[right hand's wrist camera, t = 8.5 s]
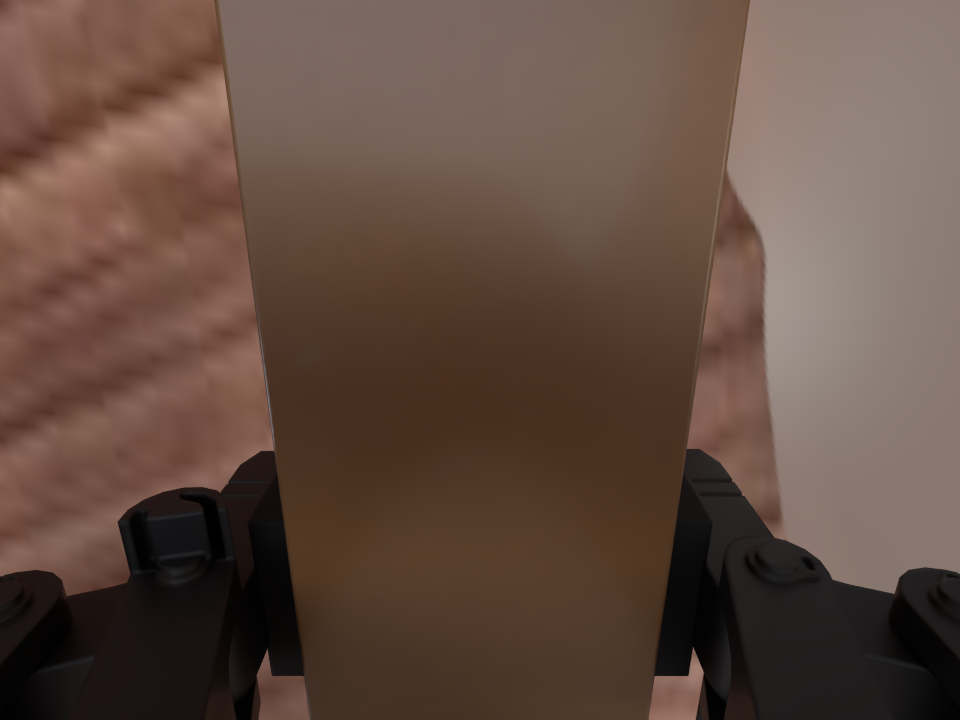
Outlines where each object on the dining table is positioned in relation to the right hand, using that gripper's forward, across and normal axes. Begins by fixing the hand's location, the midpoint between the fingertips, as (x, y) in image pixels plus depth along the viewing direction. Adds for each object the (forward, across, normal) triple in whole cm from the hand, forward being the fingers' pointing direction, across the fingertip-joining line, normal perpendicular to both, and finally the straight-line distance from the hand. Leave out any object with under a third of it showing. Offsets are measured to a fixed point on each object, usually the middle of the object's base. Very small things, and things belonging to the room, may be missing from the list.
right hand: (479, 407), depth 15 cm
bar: (+1, 0, -21) cm, 21 cm away
